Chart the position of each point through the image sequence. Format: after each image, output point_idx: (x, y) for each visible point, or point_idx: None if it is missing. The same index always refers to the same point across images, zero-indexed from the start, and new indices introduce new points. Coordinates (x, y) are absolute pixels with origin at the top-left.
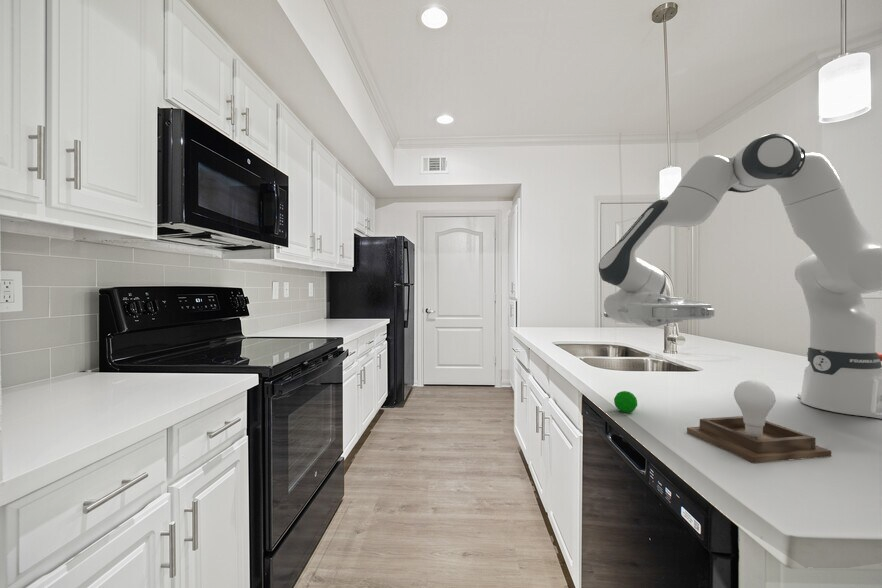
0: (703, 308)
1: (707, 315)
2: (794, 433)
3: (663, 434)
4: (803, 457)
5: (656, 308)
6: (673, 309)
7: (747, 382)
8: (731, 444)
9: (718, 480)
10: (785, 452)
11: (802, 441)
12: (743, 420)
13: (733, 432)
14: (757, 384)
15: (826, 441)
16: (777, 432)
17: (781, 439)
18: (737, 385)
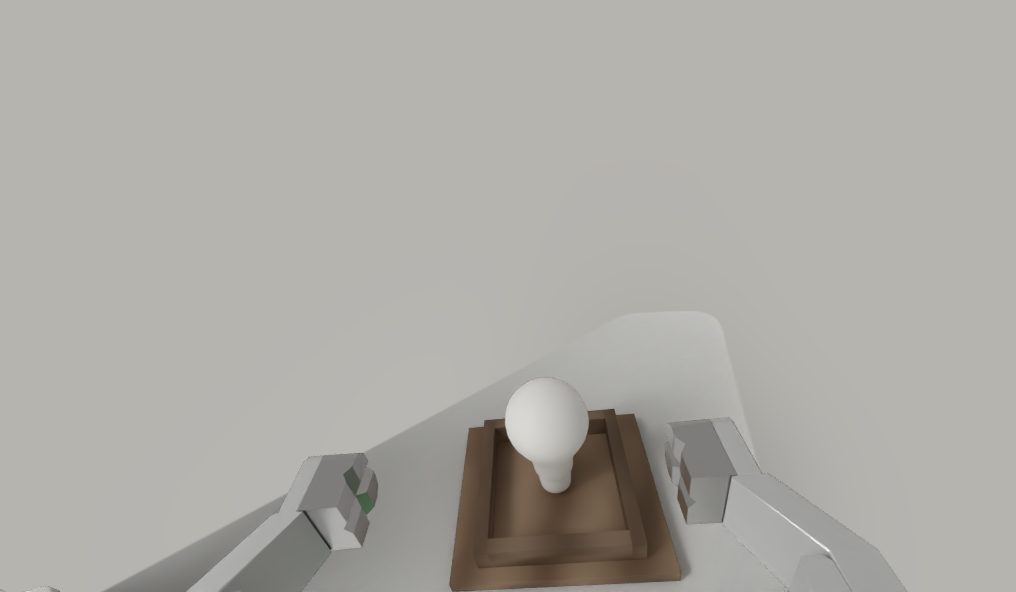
0: (324, 509)
1: (374, 492)
2: (494, 444)
3: (763, 574)
4: None
5: (877, 558)
6: (709, 420)
7: (561, 392)
8: (633, 461)
9: (732, 381)
10: None
11: None
12: (570, 469)
13: (624, 451)
14: (552, 379)
15: (392, 490)
16: (494, 481)
17: None
18: (569, 421)
